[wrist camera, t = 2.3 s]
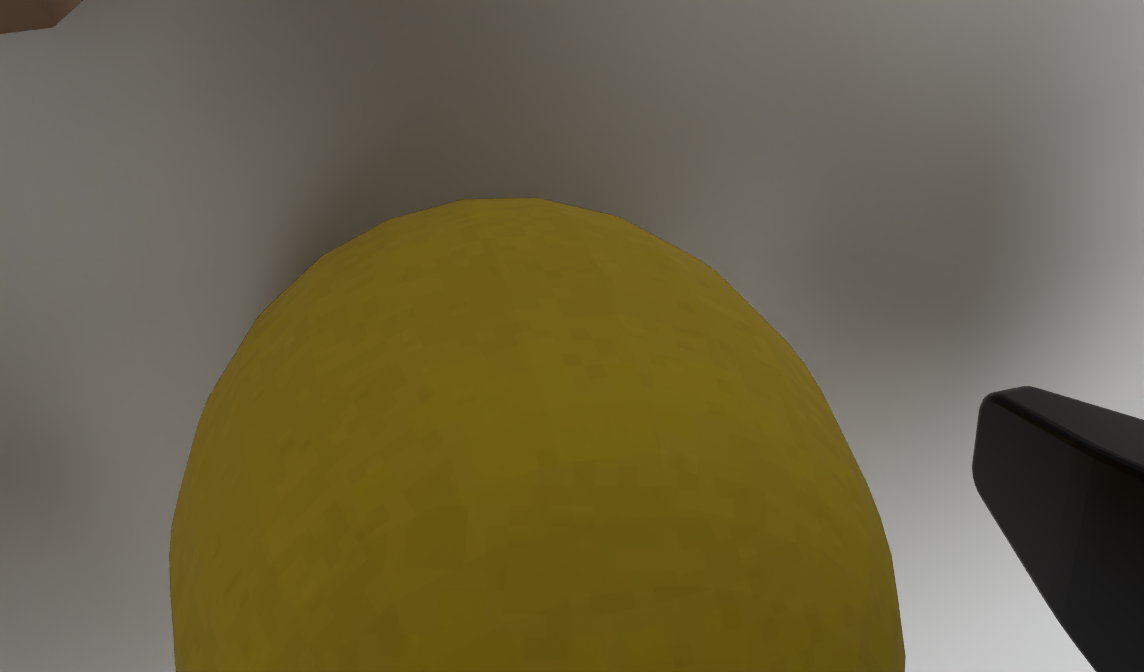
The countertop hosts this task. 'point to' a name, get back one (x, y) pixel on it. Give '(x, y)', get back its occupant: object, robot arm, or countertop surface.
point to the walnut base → (33, 14)
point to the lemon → (523, 469)
